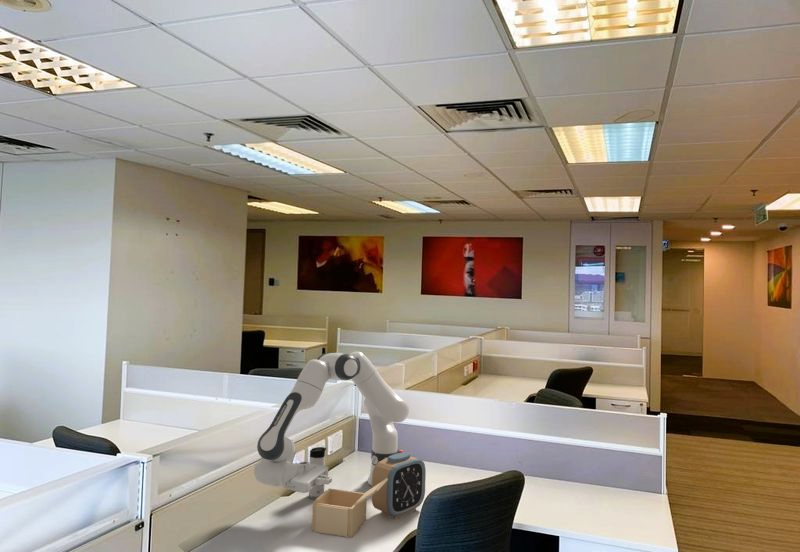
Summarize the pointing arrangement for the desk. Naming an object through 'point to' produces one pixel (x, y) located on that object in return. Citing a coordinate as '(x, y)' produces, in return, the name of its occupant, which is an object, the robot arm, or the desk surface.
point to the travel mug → (319, 458)
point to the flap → (371, 491)
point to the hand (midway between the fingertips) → (330, 480)
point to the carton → (338, 513)
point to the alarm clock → (399, 484)
